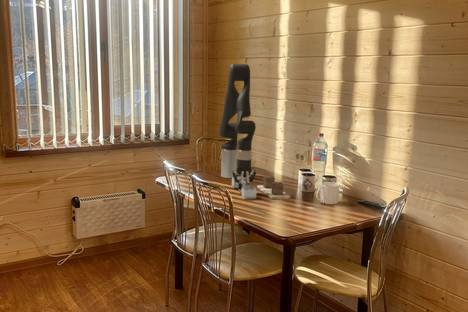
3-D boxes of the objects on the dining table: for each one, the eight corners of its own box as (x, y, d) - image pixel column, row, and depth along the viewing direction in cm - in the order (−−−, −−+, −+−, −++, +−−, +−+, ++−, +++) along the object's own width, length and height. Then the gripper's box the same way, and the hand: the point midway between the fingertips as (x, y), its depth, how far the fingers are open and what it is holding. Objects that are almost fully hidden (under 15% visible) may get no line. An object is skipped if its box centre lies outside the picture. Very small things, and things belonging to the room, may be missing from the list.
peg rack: (256, 186, 257) (257, 174, 256) (273, 186, 260) (274, 174, 259) (271, 199, 233) (272, 186, 231) (290, 198, 235) (290, 185, 234)
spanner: (231, 185, 256) (232, 176, 255) (242, 185, 258) (243, 176, 257) (244, 199, 231) (244, 189, 230) (256, 198, 233) (256, 189, 232)
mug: (333, 199, 236) (335, 181, 234) (341, 204, 227) (342, 186, 226) (311, 199, 234) (312, 182, 232) (318, 205, 225) (319, 186, 223)
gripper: (255, 156, 246) (253, 187, 249) (229, 157, 243) (229, 188, 246) (259, 159, 239) (257, 191, 242) (233, 159, 236) (232, 192, 239)
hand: (243, 189), depth 244 cm, fingers closed on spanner, 3 cm apart
